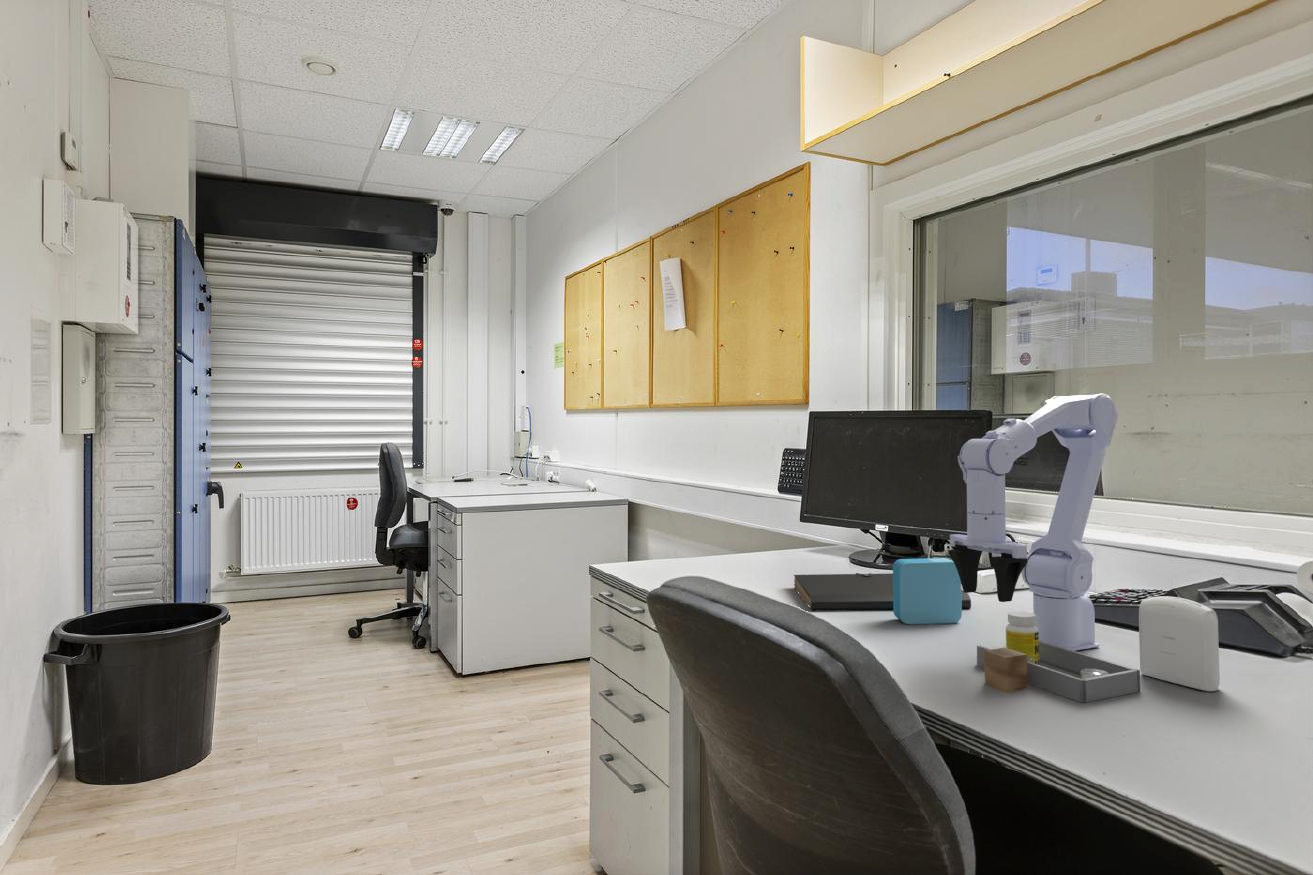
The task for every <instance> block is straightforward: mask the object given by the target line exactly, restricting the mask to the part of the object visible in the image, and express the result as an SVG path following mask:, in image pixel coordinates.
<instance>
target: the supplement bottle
mask: <svg viewBox="0 0 1313 875" xmlns="http://www.w3.org/2000/svg"><path fill="white" fill-rule="evenodd" d="M1007 623H1008V624H1006V626H1005V648H1008V649H1011V650H1015V651H1018V652H1021V653H1024V654H1027V661H1028V662H1031V663H1034V664H1037V665H1040V660H1039V631H1038V628H1037V627H1036V626H1034V625H1035V624H1036V615H1035V614H1033V612H1029V611H1022V610H1018V611H1016V610H1015V611H1009V612H1008V613H1007Z"/></svg>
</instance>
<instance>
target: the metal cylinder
mask: <svg viewBox="0 0 1313 875" xmlns="http://www.w3.org/2000/svg"><path fill="white" fill-rule="evenodd" d="M1108 674H1109V673H1108V672H1106V671H1103V670H1098V669H1082V670H1081V674H1080V679H1087V678H1092V677H1097V676H1102V675H1108Z"/></svg>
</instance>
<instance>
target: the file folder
mask: <svg viewBox="0 0 1313 875" xmlns="http://www.w3.org/2000/svg"><path fill="white" fill-rule="evenodd" d="M793 576H794V578H793V579H794V580H793V581H794V582H793V583H794V584H793V585H794V586H793V588H794V590H795V589H796V590H797V591H798V592H799V594H800V595H801V597H802V598H803V599H804V600H803V599H802V598H801V597H800V598H801V599H802V600H803V602H804V601H805V602H806V603H807V604H808V605H809V606H810V607H808V608H809V610H810V609H811V610H812V611H811V610H810V611H811V612H817V611H816V610H851V611H893V572H892V573H871V572H869V573H858V572H855V573H841V574H839V573H833V574H832V573H831V574H829V573H827V574H826V573H823V574H821V573H820V574H793ZM796 590H795V591H796ZM797 591H796V592H797ZM799 594H798V595H799ZM800 595H799V596H800ZM961 597H962V610H970V609H972V608H971V607H972V600H971V596H970V595H969V594H968V593H965V592H963V589H961ZM805 602H804V603H805ZM806 603H805V604H806ZM807 604H806V605H807Z"/></svg>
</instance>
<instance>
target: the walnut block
mask: <svg viewBox="0 0 1313 875" xmlns="http://www.w3.org/2000/svg"><path fill="white" fill-rule="evenodd" d="M984 658H985V667H984V684H985V685H986V686H989V687H992V688H994V689H997V690H998V691H1002V692H1005V693H1012V692H1016V691H1021V690H1027V689H1028V683H1027V654H1024V653H1021V652H1018V651H1015V650H1011V649H1008V648H1006V646H1003V647H1000V648H992V650H986V651H984Z"/></svg>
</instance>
